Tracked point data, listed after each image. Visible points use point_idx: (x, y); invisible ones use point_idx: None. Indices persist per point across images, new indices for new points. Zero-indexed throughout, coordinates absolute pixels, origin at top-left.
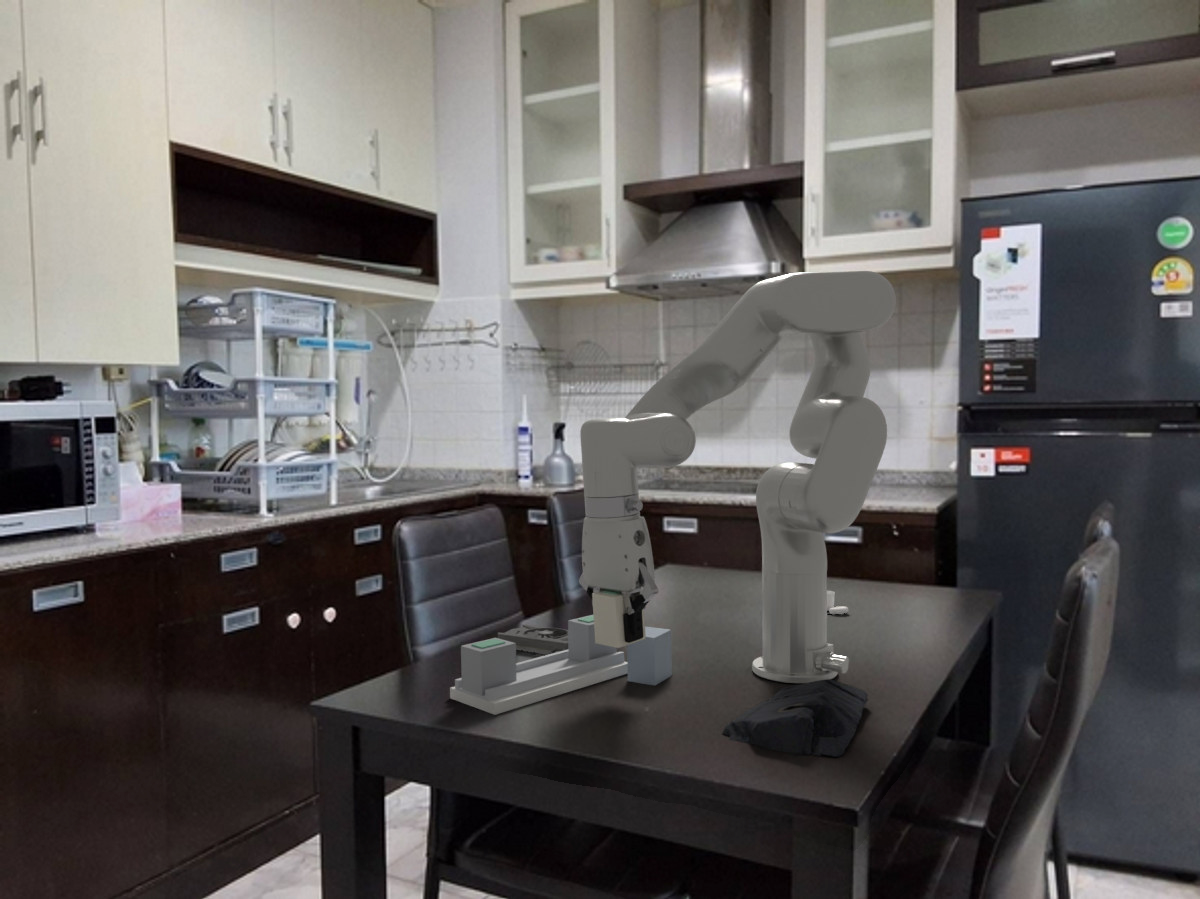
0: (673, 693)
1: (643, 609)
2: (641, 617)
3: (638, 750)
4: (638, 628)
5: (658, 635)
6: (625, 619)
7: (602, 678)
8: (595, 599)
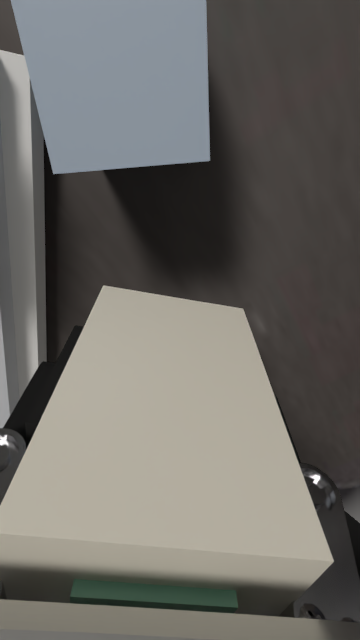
0: (271, 193)
1: (319, 481)
2: (294, 450)
3: (322, 459)
4: None
5: (203, 96)
6: None
7: (41, 212)
8: None
